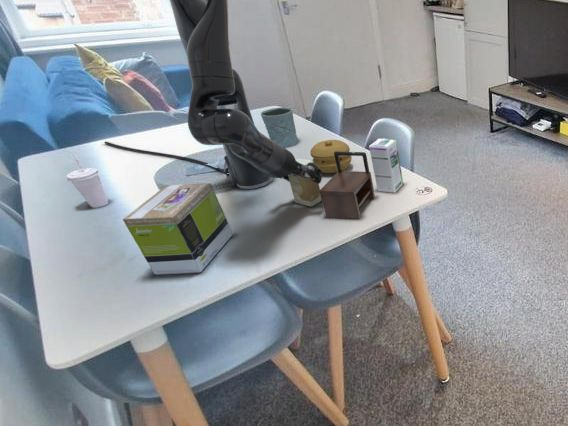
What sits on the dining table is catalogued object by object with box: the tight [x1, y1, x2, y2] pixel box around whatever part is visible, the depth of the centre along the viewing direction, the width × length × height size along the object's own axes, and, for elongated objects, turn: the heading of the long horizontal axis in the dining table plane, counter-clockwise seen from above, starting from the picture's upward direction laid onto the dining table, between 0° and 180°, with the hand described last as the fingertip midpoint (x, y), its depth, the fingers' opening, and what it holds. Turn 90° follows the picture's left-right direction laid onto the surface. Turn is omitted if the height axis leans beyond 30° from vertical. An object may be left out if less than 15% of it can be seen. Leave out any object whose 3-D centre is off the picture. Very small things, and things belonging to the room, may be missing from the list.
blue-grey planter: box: [260, 107, 299, 148], centre depth 154 cm, size 10×10×12 cm
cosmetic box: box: [288, 157, 322, 207], centre depth 116 cm, size 6×4×12 cm
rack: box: [319, 151, 376, 220], centre depth 113 cm, size 9×12×14 cm
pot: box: [309, 139, 353, 174], centre depth 135 cm, size 12×12×10 cm
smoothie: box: [65, 156, 109, 209], centre depth 114 cm, size 6×6×14 cm
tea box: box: [122, 182, 234, 276], centre depth 94 cm, size 15×10×15 cm, turn 5°
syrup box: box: [368, 138, 404, 194], centre depth 123 cm, size 6×6×14 cm
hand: (306, 179), depth 117 cm, fingers closed on cosmetic box, 7 cm apart
